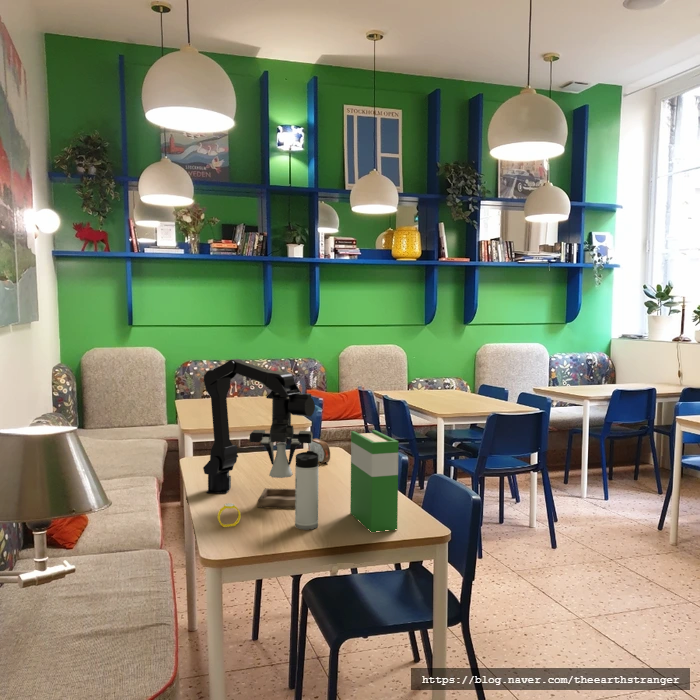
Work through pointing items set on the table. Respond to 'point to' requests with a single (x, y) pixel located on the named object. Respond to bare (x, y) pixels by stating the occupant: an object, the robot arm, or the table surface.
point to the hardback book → (374, 480)
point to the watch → (229, 508)
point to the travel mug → (306, 490)
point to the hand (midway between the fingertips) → (281, 464)
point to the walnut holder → (277, 498)
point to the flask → (281, 463)
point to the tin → (320, 450)
